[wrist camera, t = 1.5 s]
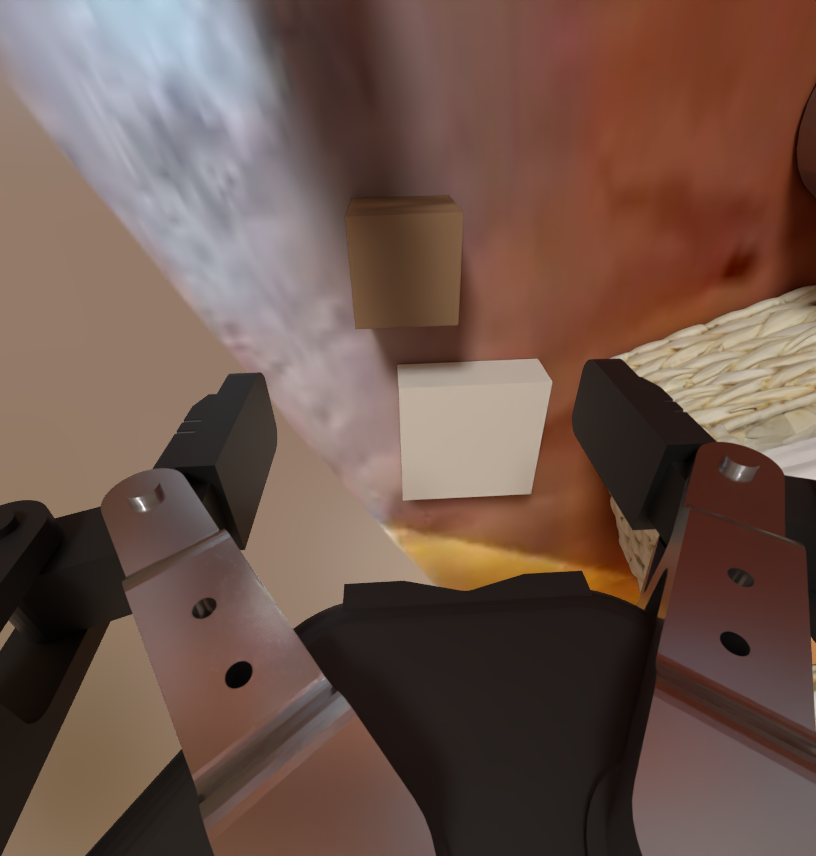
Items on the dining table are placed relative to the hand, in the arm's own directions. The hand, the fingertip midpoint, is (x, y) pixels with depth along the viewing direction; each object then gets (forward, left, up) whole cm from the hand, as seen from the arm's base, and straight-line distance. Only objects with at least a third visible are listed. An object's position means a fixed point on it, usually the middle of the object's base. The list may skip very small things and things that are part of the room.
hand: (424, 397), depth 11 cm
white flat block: (-4, +12, -16) cm, 20 cm away
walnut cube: (0, 0, -16) cm, 16 cm away
